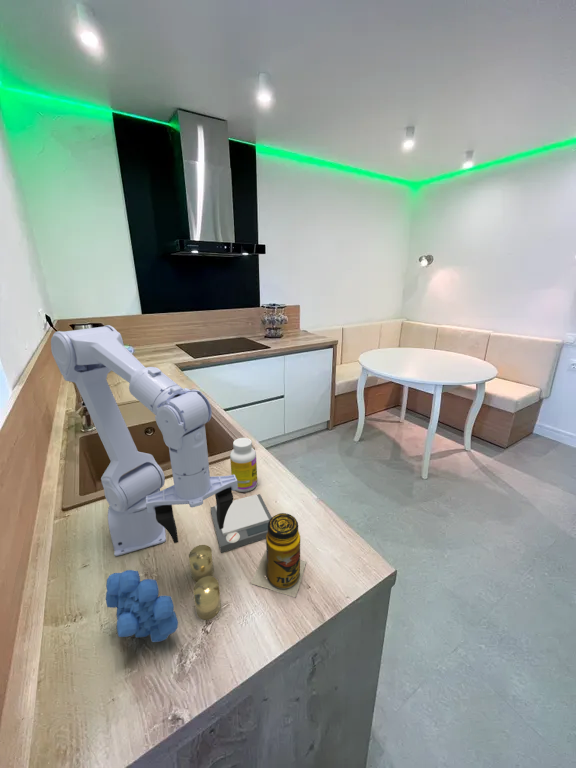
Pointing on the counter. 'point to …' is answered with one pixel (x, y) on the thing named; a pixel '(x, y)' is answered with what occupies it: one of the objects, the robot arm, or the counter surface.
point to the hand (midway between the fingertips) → (198, 531)
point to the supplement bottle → (244, 464)
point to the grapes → (140, 607)
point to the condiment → (281, 557)
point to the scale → (242, 523)
